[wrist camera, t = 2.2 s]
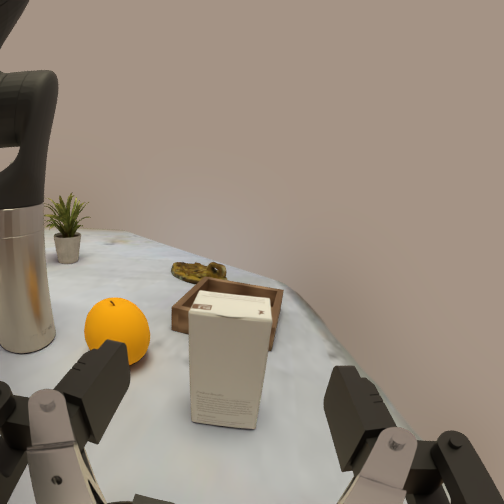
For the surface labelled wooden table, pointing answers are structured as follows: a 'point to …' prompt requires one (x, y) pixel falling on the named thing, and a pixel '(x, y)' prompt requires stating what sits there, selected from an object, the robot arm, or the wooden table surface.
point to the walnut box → (228, 287)
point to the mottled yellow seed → (198, 271)
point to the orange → (118, 327)
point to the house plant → (66, 231)
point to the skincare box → (228, 357)
